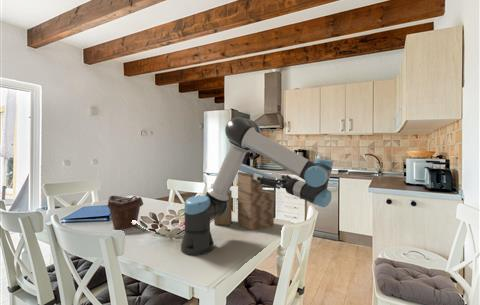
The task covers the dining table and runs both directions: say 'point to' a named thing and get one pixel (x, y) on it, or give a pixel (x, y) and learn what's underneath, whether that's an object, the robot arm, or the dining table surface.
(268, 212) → the walnut stand
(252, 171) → the slate rail
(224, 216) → the wooden block
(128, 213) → the brown pot
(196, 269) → the dining table surface
